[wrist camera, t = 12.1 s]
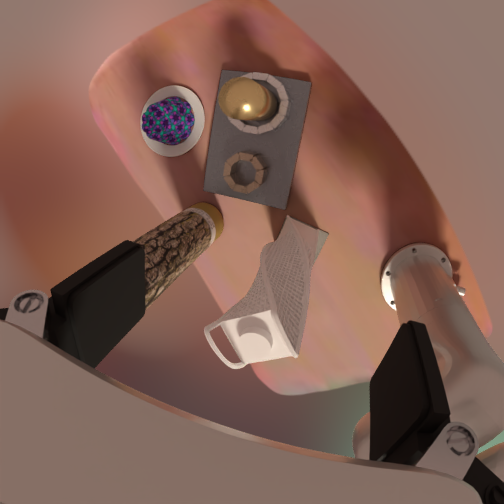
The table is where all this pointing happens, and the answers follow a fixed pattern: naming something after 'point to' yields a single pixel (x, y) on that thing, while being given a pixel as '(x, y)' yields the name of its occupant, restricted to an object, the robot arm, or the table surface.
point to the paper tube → (177, 246)
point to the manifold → (258, 144)
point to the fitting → (246, 100)
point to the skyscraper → (274, 298)
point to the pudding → (172, 121)
